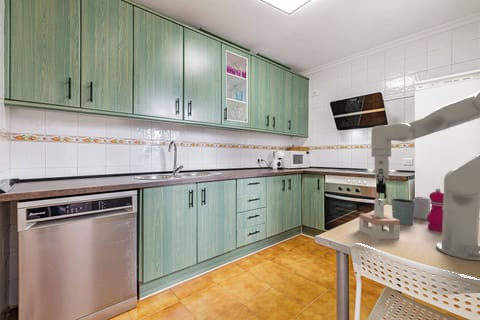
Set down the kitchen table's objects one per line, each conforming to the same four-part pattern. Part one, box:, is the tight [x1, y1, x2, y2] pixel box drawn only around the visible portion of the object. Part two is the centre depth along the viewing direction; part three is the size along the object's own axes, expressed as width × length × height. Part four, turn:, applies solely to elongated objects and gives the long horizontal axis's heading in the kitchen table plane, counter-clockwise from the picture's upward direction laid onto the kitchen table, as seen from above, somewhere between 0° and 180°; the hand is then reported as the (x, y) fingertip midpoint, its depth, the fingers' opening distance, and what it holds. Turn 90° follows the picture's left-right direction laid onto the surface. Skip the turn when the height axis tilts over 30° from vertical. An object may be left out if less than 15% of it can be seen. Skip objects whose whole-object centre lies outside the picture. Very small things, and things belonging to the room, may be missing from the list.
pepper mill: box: [426, 188, 444, 233], centre depth 106 cm, size 7×7×20 cm
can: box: [412, 196, 431, 221], centre depth 123 cm, size 8×8×12 cm
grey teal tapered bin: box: [391, 198, 415, 226], centre depth 116 cm, size 10×10×12 cm
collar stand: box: [358, 212, 401, 240], centre depth 99 cm, size 11×11×8 cm
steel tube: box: [373, 198, 385, 231], centre depth 99 cm, size 4×4×16 cm
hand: (381, 191), depth 98 cm, fingers open, 9 cm apart
